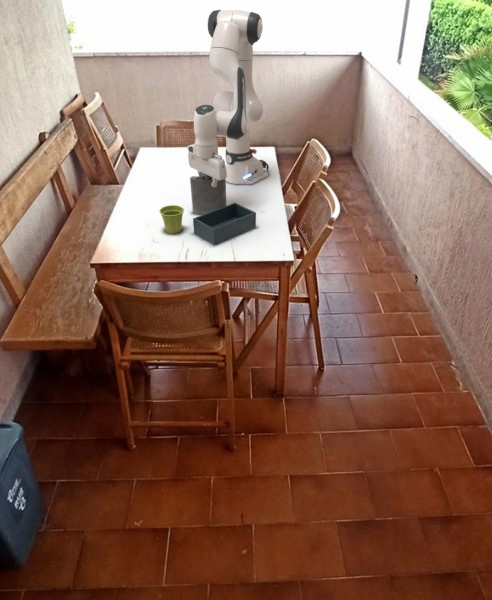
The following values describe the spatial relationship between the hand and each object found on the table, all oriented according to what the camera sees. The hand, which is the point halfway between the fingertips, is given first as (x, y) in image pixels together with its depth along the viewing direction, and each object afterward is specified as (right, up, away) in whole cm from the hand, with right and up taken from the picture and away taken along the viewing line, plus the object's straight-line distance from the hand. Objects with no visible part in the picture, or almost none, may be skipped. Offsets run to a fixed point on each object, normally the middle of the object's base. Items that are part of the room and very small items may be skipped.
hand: (208, 183), depth 197 cm
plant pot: (-13, -20, -4) cm, 24 cm away
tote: (+7, -20, -4) cm, 21 cm away
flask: (0, -11, +8) cm, 13 cm away
